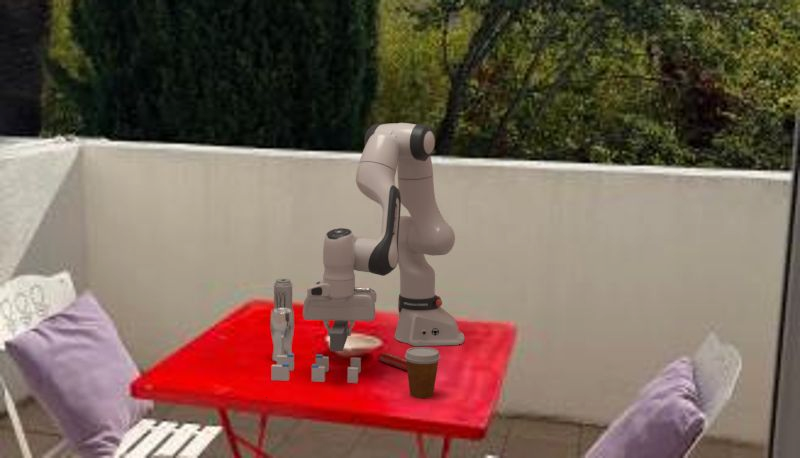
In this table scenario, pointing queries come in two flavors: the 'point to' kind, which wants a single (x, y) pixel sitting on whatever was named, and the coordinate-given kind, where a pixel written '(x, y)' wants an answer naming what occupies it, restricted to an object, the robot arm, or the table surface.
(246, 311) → the table surface
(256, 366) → the table surface
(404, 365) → the candy bar
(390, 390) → the table surface
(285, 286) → the energy drink can
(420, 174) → the robot arm
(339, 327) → the tall grey pillar
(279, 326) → the beer glass
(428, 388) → the disposable coffee cup
